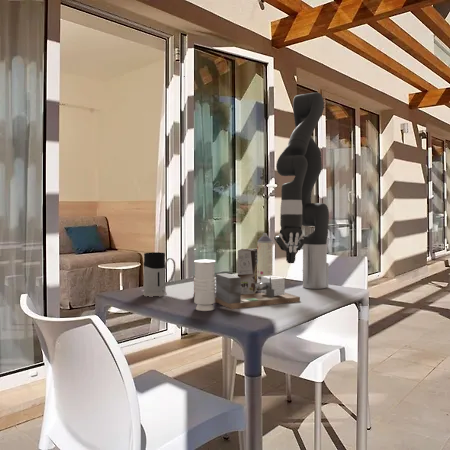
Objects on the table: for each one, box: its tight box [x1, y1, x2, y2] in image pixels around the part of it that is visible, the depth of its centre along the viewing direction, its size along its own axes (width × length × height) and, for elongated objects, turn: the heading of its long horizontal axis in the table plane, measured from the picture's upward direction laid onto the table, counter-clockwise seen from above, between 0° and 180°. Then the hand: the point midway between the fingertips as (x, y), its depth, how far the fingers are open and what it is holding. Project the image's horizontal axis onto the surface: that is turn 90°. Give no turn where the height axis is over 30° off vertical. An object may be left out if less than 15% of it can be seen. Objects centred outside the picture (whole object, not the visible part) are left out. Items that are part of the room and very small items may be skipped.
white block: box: [256, 274, 286, 296], centre depth 153 cm, size 8×7×6 cm
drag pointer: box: [266, 277, 274, 297], centre depth 149 cm, size 1×3×6 cm, turn 26°
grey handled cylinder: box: [142, 251, 176, 298], centre depth 163 cm, size 9×14×15 cm, turn 55°
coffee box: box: [237, 248, 258, 295], centre depth 168 cm, size 9×6×16 cm
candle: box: [193, 259, 216, 312], centre depth 141 cm, size 7×7×15 cm
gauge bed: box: [215, 272, 301, 310], centre depth 152 cm, size 26×12×10 cm, turn 116°
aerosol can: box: [256, 232, 274, 279], centre depth 204 cm, size 7×7×20 cm
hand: (290, 263), depth 157 cm, fingers closed
